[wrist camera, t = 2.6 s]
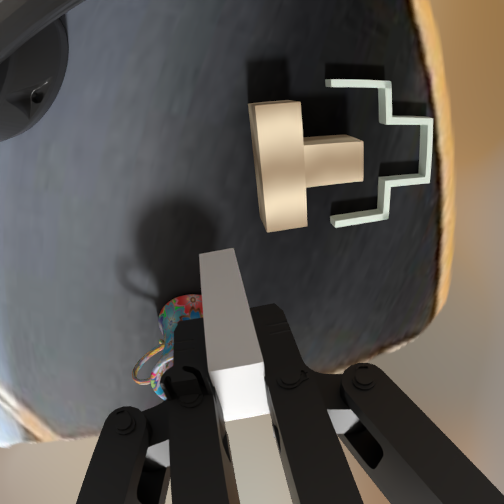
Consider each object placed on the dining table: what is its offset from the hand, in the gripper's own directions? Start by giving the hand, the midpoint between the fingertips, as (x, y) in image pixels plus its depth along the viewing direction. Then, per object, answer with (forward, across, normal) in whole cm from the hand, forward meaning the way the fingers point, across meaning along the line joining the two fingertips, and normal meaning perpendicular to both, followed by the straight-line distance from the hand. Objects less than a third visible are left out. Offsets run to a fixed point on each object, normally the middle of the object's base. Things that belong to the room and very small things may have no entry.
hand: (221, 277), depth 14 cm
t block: (+19, +10, 0) cm, 22 cm away
